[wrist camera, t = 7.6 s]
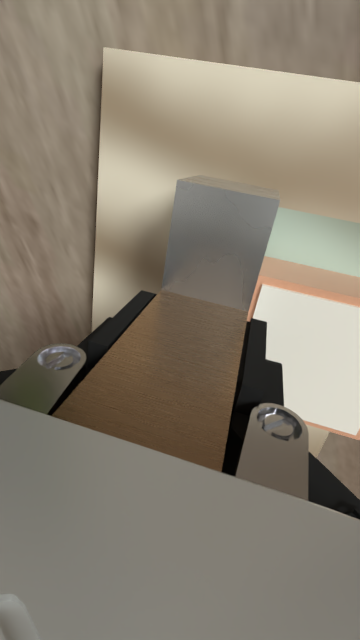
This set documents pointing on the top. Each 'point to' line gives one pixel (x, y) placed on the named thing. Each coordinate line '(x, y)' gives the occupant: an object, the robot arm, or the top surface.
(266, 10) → the top surface
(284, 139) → the board
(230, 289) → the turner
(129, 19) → the top surface
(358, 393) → the tile
